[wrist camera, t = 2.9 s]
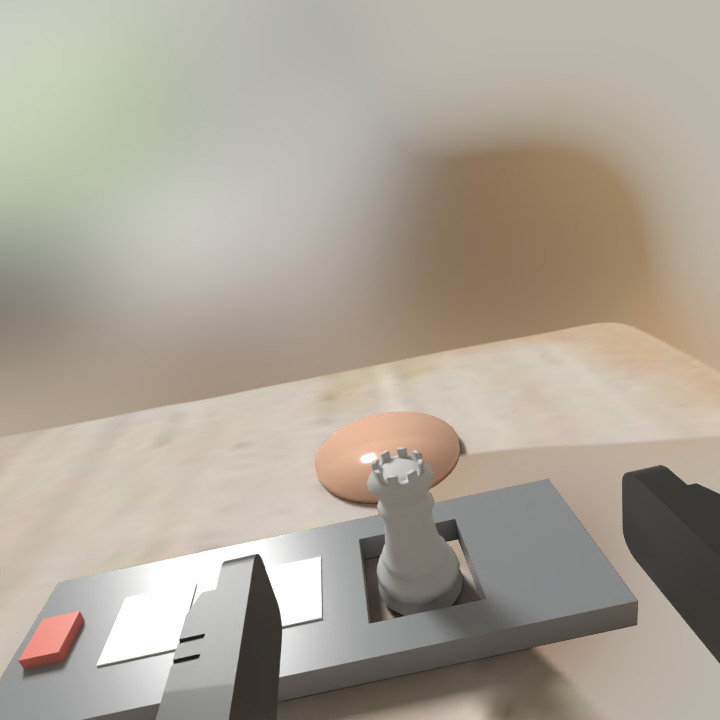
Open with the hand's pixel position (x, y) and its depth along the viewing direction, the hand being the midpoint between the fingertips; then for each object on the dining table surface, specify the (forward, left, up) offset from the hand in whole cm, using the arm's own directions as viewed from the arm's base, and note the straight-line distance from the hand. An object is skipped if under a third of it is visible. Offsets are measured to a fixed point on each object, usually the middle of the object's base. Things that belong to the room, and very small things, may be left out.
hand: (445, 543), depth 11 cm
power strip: (+2, +13, -13) cm, 19 cm away
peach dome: (+15, +19, -13) cm, 28 cm away
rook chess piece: (+7, +9, -14) cm, 18 cm away
